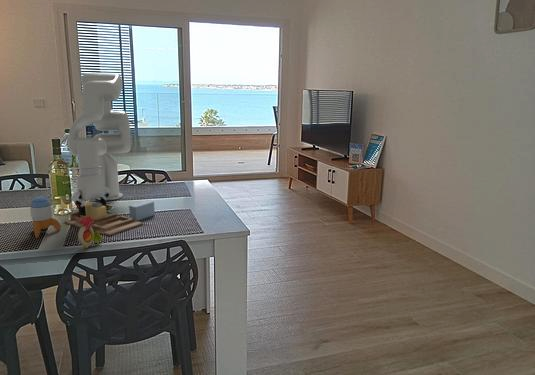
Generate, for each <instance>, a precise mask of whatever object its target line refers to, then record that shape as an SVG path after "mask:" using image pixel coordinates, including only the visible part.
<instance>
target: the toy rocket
mask: <svg viewBox="0 0 535 375" xmlns="http://www.w3.org/2000/svg"><path fill="white" fill-rule="evenodd" d="M29 210H30V211H29V212H30V216H31V220H32V227H33V231H34V236H35V238H36V239H38V238H39V236H40V233H41V232H42V233H43V232H47V231H48V230H49V227H53V228H54V229H55V230H57V231H59V232H60V231H61V227H62V226H61V223H60V221H59V220H57V219H56V218H54V217H53V210H52V205H51V202H50V201H49V199H48V198H47V197H45V196H36V197H35V198H33V199H32V201H31V203H30V209H29Z"/></svg>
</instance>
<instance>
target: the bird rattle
mask: <svg viewBox="0 0 535 375" xmlns="http://www.w3.org/2000/svg"><path fill="white" fill-rule="evenodd" d="M93 221H94V219H92V218H91V216H89V217H87V218H84V217H83V218H82V219H80V220H79V223H80V224H83V226H82V227H81V228H80V227H79V229H78V233H77V240H78V243H79V244H80V245H81V246H82V247H83V248H84V249H88V248H89V246H91V245H92V244H93V243H94V244H95V243H98V244H99V242H100V241H102V240H104V237H103V236H102V235H100V233H99V232H98V231H96V232H94V231H93V229H92V227H90V224H91V223H92V222H93Z"/></svg>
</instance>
